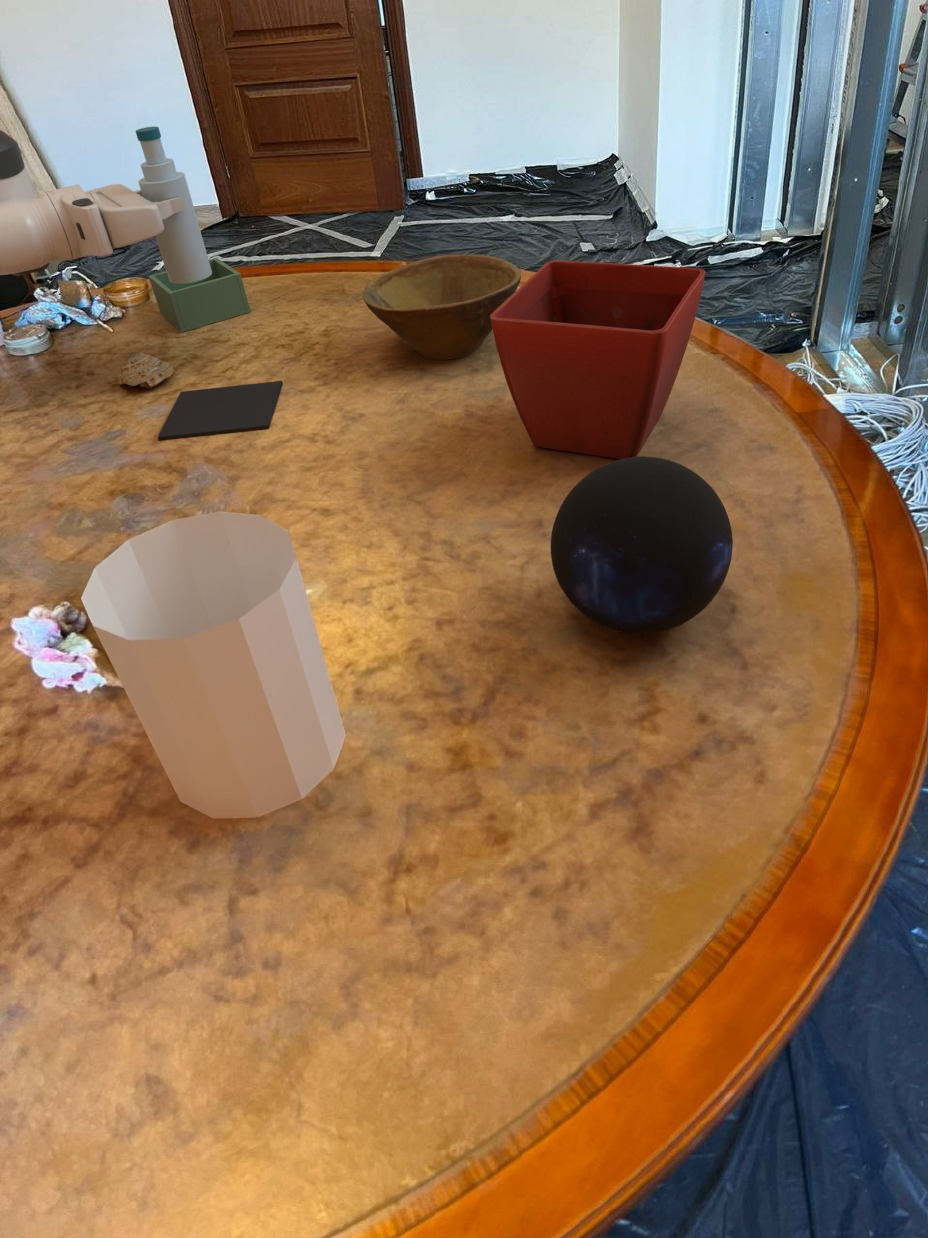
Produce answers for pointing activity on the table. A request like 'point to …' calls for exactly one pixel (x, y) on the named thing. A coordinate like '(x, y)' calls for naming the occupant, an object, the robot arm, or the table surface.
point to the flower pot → (595, 351)
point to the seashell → (143, 370)
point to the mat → (222, 410)
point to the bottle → (180, 229)
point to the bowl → (443, 301)
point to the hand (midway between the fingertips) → (173, 198)
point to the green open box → (201, 297)
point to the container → (220, 660)
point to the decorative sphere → (641, 545)
